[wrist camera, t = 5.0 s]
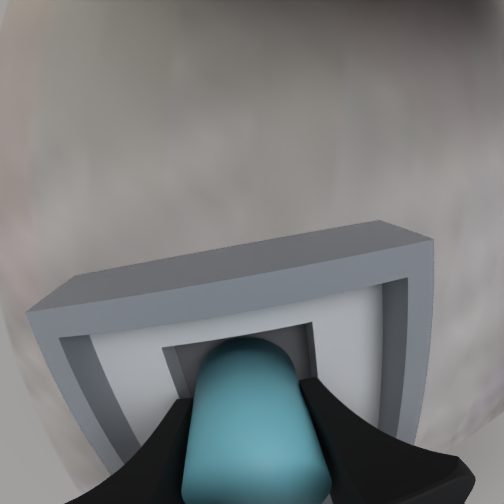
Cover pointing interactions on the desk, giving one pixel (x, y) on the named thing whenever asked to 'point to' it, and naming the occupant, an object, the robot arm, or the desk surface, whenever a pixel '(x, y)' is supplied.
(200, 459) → the peg
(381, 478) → the robot arm
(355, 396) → the socket box
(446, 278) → the desk surface
